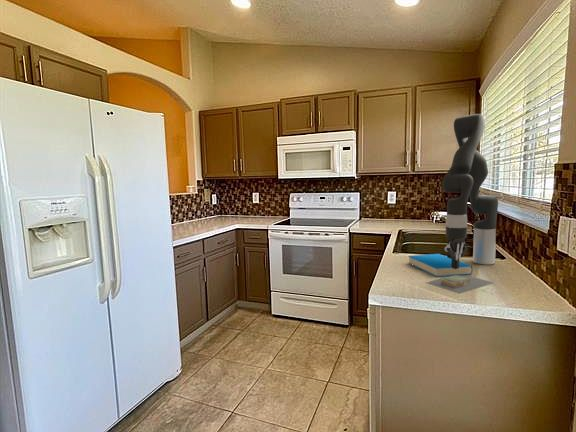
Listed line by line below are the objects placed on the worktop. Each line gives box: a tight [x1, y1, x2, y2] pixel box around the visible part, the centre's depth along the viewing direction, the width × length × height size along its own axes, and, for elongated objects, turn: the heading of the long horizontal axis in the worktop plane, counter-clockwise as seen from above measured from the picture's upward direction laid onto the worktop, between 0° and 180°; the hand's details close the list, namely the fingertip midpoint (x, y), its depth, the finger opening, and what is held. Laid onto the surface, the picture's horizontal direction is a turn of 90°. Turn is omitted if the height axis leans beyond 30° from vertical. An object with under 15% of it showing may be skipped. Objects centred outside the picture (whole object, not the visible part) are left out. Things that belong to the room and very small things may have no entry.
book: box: [408, 253, 473, 278], centre depth 154 cm, size 17×4×25 cm
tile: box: [440, 275, 470, 288], centre depth 131 cm, size 2×6×9 cm
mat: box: [425, 274, 495, 295], centre depth 133 cm, size 22×15×1 cm
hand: (455, 268), depth 130 cm, fingers closed
